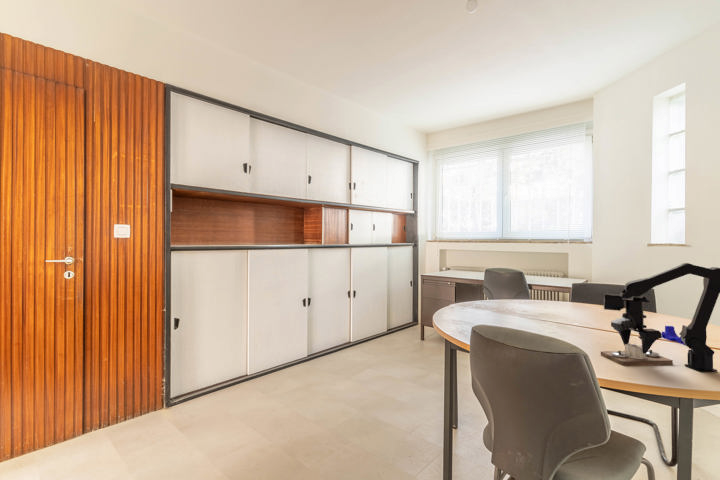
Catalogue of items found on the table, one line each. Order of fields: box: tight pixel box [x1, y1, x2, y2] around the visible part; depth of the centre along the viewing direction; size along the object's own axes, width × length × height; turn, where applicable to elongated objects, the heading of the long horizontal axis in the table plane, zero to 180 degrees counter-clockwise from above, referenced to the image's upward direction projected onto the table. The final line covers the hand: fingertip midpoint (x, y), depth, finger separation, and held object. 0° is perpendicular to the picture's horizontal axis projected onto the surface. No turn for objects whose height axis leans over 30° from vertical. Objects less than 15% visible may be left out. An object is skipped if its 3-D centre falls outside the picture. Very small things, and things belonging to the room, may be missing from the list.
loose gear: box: [624, 343, 645, 358], centre depth 138 cm, size 6×6×4 cm
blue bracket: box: [661, 325, 686, 346], centre depth 161 cm, size 12×4×6 cm, turn 171°
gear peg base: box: [611, 349, 660, 358], centre depth 138 cm, size 5×18×2 cm, turn 91°
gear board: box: [600, 350, 674, 366], centre depth 138 cm, size 12×20×2 cm, turn 91°
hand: (635, 349), depth 138 cm, fingers open, 9 cm apart
